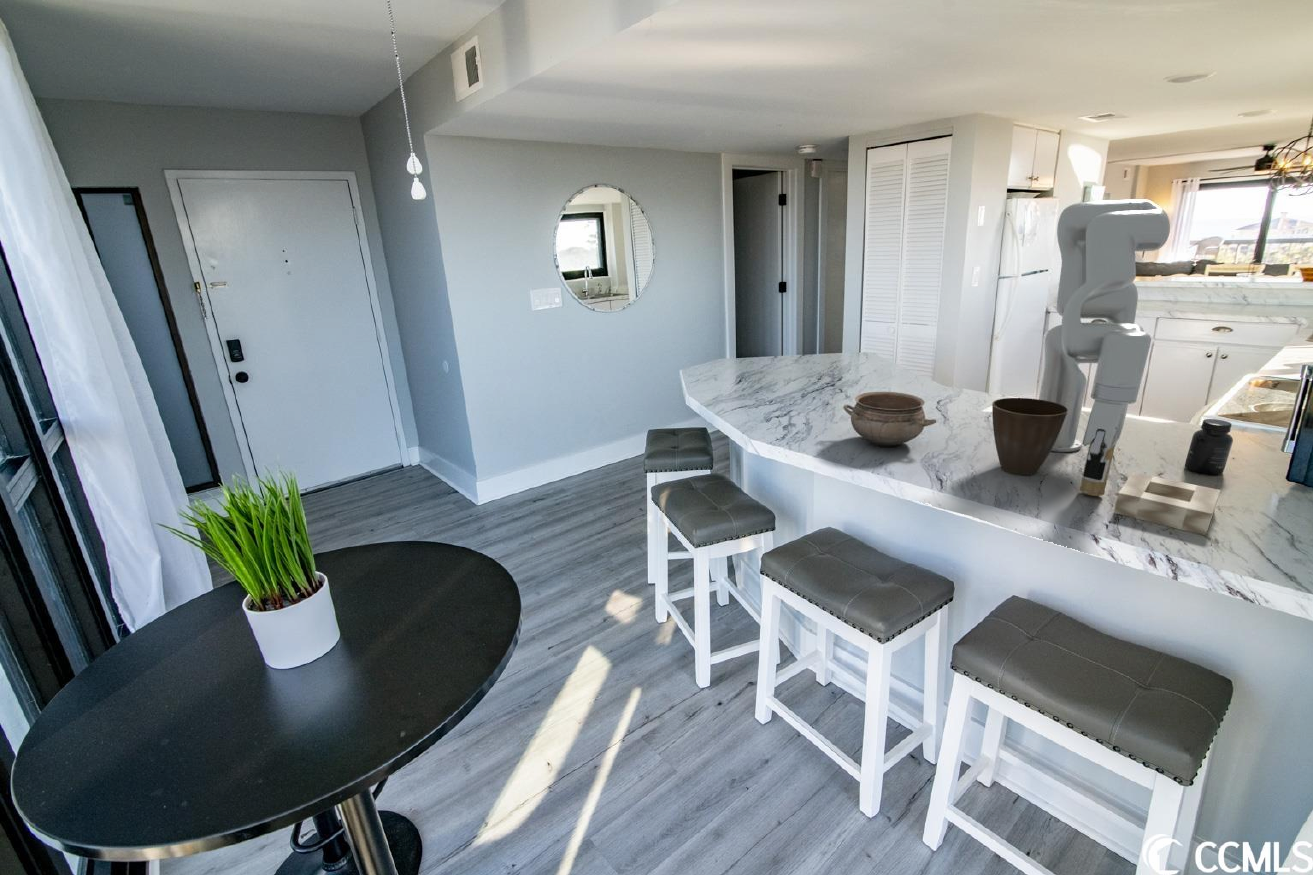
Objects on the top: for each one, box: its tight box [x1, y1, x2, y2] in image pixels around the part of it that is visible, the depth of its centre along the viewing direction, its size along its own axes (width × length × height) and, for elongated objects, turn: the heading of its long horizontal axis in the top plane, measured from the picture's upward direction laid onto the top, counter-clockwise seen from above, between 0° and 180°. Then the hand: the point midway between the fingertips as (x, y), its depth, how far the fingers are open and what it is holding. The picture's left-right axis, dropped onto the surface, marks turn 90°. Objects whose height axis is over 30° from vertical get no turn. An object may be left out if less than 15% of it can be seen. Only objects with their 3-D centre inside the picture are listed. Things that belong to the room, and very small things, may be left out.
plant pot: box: [991, 397, 1068, 476], centre depth 140 cm, size 15×15×16 cm
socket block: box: [1113, 471, 1221, 536], centre depth 119 cm, size 14×14×4 cm
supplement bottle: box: [1184, 418, 1234, 477], centre depth 136 cm, size 7×7×12 cm
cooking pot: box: [843, 391, 938, 448], centre depth 161 cm, size 25×19×12 cm
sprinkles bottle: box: [1078, 438, 1119, 497], centre depth 125 cm, size 5×5×14 cm
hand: (1095, 473), depth 126 cm, fingers closed on sprinkles bottle, 4 cm apart
